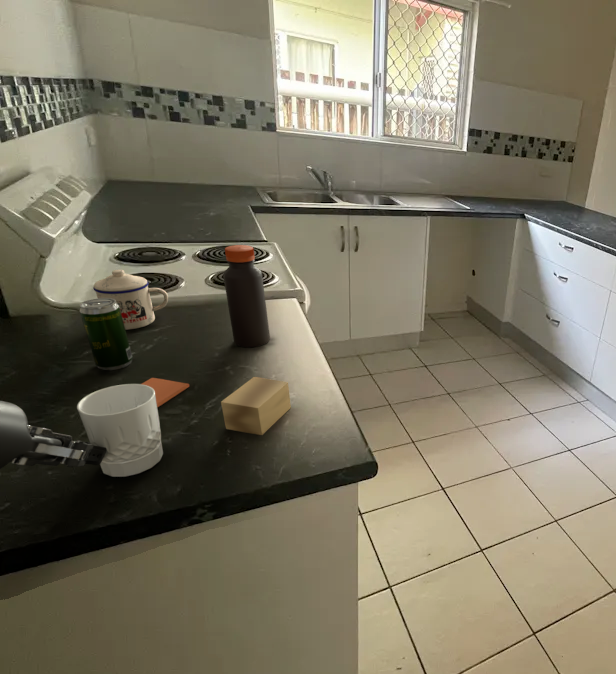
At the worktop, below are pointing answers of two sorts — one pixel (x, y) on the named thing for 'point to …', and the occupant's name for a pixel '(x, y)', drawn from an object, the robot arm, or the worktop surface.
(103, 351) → the beer can
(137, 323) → the teacup with lid
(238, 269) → the bottle
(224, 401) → the beech block
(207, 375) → the worktop surface
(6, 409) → the robot arm
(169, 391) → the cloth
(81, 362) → the worktop surface
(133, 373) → the worktop surface
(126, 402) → the white cup
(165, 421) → the worktop surface
